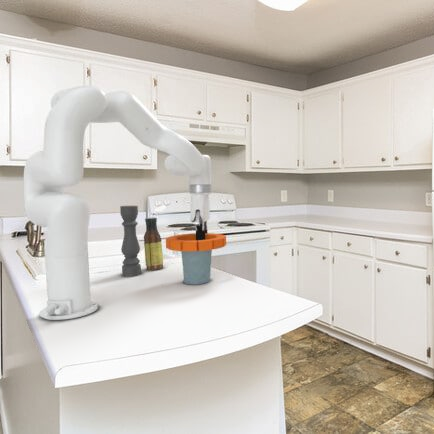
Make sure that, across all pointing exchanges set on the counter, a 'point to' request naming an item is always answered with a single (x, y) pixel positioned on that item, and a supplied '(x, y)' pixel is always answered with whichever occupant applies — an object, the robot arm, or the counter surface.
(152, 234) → the sauce bottle
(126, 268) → the candle holder
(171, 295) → the counter surface
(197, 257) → the blue-grey plant pot
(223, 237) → the ring
